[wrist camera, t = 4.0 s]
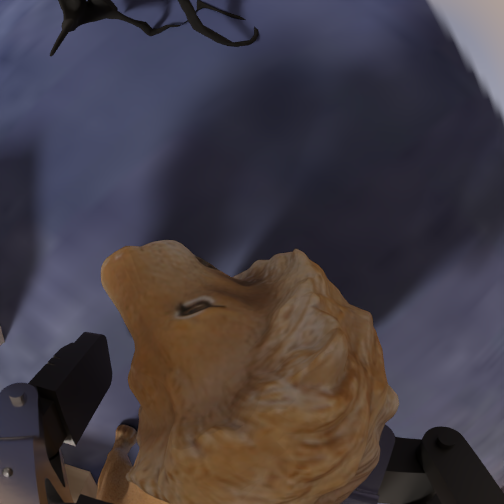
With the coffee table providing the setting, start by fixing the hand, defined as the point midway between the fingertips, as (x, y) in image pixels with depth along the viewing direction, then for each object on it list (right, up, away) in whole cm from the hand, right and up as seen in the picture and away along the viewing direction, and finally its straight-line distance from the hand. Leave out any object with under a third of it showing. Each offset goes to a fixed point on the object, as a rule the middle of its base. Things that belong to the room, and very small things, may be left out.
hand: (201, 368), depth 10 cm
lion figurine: (-1, -1, +2) cm, 2 cm away
